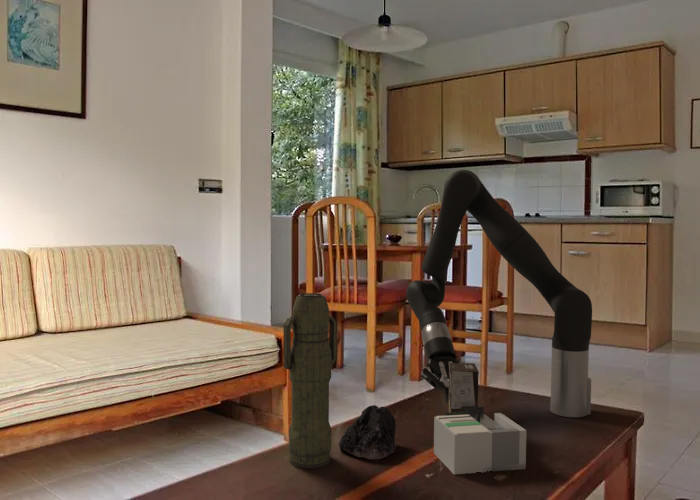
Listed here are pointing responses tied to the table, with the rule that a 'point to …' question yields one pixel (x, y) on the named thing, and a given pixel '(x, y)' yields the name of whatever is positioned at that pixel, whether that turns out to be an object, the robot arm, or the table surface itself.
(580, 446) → the table surface
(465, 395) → the coffee box
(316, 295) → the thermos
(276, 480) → the table surface
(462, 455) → the gauge housing
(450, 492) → the table surface
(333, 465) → the table surface
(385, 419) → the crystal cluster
